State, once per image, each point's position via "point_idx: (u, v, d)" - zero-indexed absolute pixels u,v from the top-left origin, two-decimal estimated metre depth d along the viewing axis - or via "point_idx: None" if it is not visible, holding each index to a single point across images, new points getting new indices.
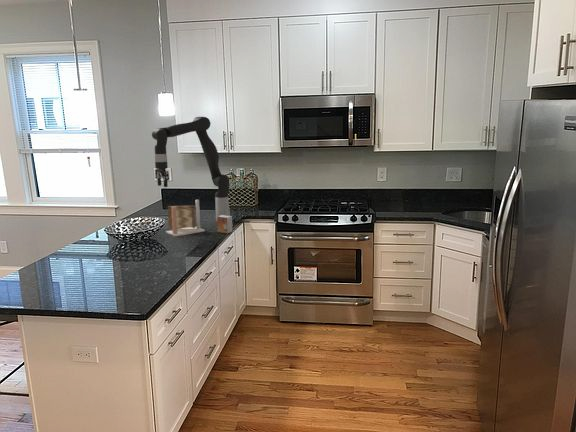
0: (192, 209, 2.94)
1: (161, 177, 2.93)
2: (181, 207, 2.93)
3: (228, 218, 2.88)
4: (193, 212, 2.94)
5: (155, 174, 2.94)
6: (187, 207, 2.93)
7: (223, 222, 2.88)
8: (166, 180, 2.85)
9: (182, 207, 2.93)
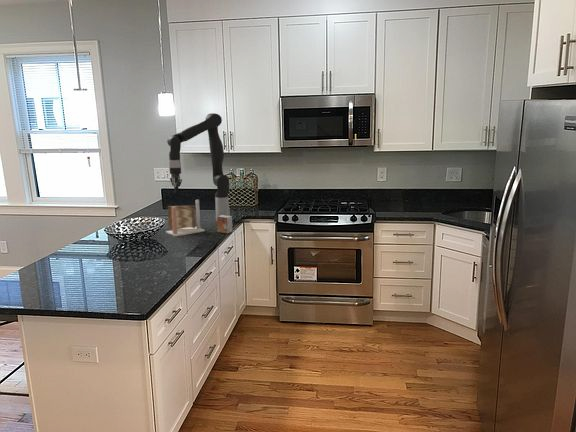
0: (192, 209, 2.94)
1: None
2: (181, 207, 2.93)
3: (228, 218, 2.88)
4: (193, 212, 2.94)
5: (171, 182, 3.06)
6: (187, 207, 2.93)
7: (223, 222, 2.88)
8: (177, 186, 3.02)
9: (182, 207, 2.93)
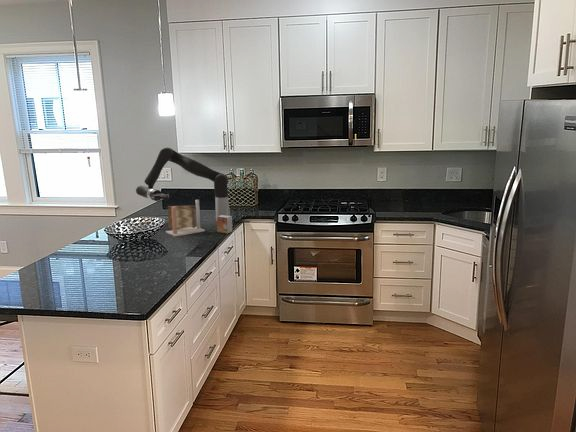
0: (192, 209, 2.94)
1: None
2: (181, 207, 2.93)
3: (228, 218, 2.88)
4: (193, 212, 2.94)
5: (167, 198, 3.05)
6: (187, 207, 2.93)
7: (223, 222, 2.88)
8: (159, 198, 2.99)
9: (182, 207, 2.93)
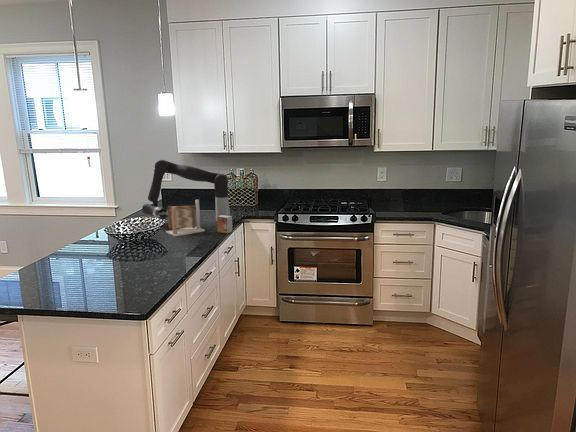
0: (192, 209, 2.94)
1: None
2: (181, 207, 2.93)
3: (228, 218, 2.88)
4: (193, 212, 2.94)
5: None
6: (187, 207, 2.93)
7: (223, 222, 2.88)
8: (165, 217, 2.97)
9: (182, 207, 2.93)
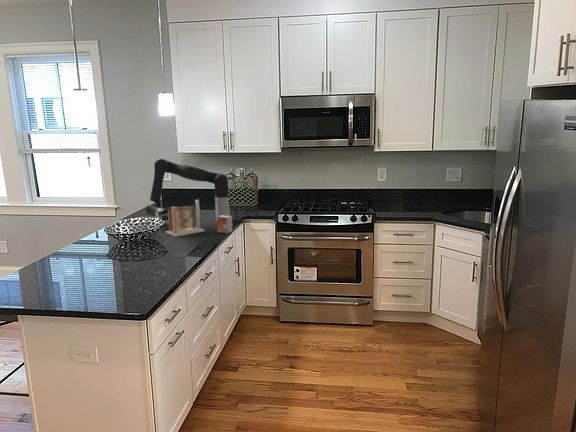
0: (193, 209, 2.93)
1: None
2: (182, 208, 2.90)
3: (228, 218, 2.88)
4: (193, 212, 2.94)
5: None
6: (188, 208, 2.91)
7: (223, 222, 2.88)
8: (167, 218, 2.92)
9: (183, 208, 2.90)
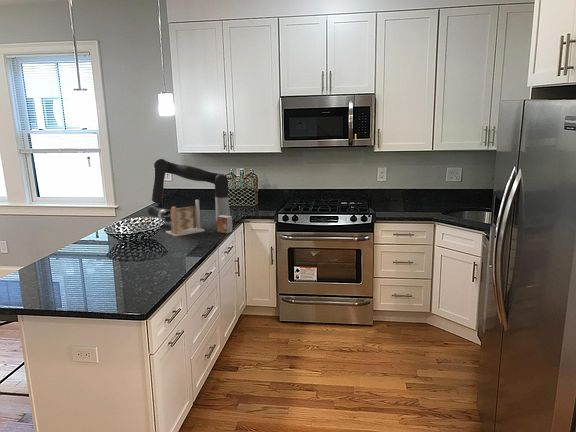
0: (193, 210, 2.92)
1: None
2: (184, 209, 2.88)
3: (228, 218, 2.88)
4: (194, 212, 2.93)
5: None
6: (189, 208, 2.90)
7: (223, 222, 2.88)
8: (170, 219, 2.89)
9: (185, 209, 2.88)
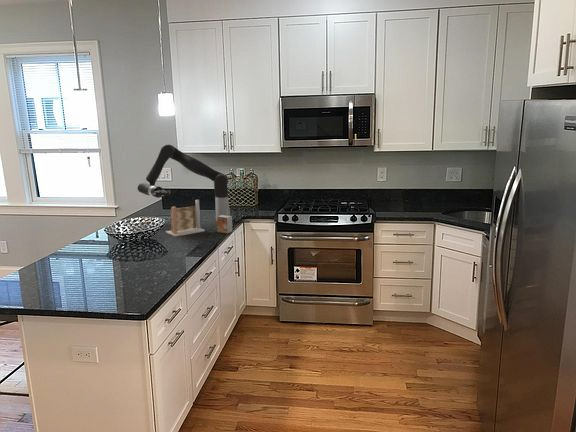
0: (193, 210, 2.92)
1: (164, 191, 3.00)
2: (184, 209, 2.88)
3: (228, 218, 2.88)
4: (194, 212, 2.93)
5: None
6: (189, 208, 2.90)
7: (223, 222, 2.88)
8: (161, 194, 2.97)
9: (185, 209, 2.88)
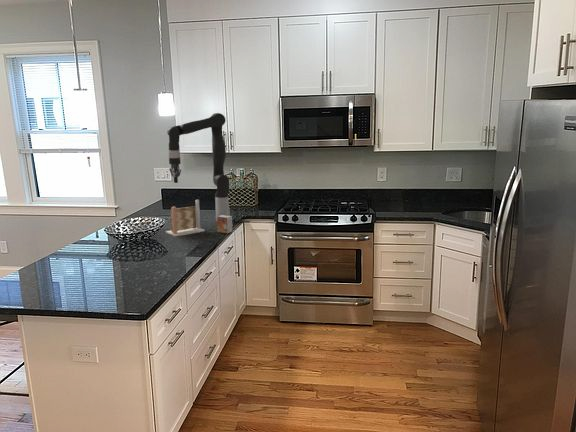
0: (193, 210, 2.92)
1: None
2: (184, 209, 2.88)
3: (228, 218, 2.88)
4: (194, 212, 2.93)
5: (170, 172, 3.09)
6: (189, 208, 2.90)
7: (223, 222, 2.88)
8: (176, 176, 3.05)
9: (185, 209, 2.88)
